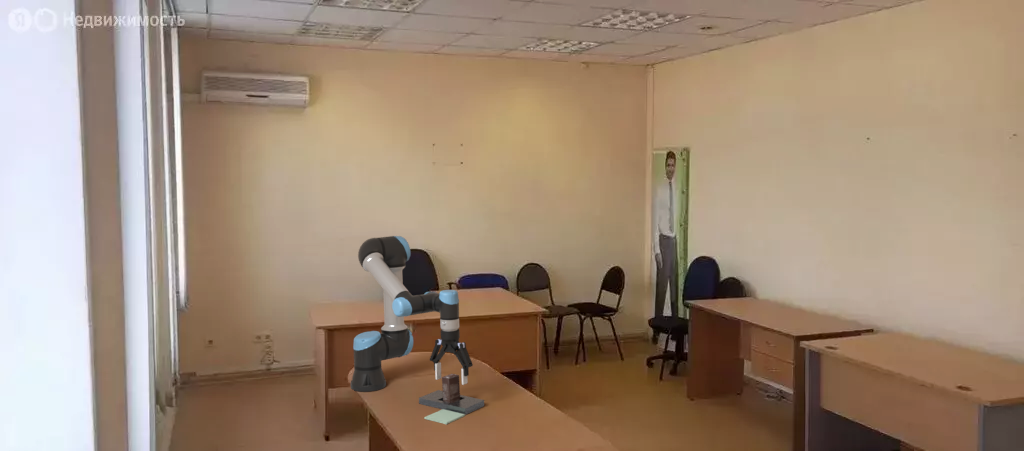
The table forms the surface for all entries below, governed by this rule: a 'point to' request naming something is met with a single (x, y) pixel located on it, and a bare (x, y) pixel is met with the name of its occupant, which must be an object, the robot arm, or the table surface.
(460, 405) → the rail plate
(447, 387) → the box
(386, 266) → the robot arm
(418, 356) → the table surface
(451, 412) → the pad
